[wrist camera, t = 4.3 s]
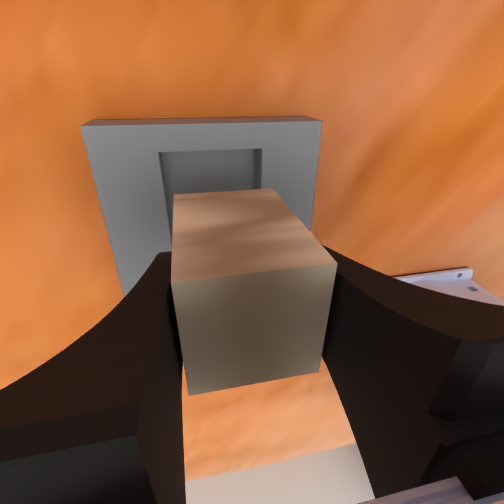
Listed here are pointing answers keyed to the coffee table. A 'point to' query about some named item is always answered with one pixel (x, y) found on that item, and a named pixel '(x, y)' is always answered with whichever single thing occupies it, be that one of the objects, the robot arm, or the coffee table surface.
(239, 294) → the birch block
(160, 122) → the pocket board
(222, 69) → the coffee table surface
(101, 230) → the coffee table surface
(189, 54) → the coffee table surface
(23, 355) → the coffee table surface
